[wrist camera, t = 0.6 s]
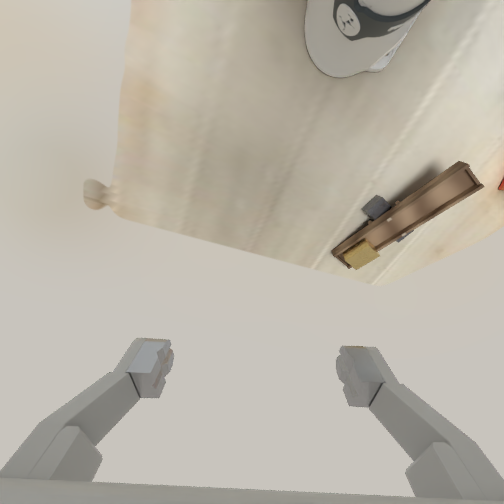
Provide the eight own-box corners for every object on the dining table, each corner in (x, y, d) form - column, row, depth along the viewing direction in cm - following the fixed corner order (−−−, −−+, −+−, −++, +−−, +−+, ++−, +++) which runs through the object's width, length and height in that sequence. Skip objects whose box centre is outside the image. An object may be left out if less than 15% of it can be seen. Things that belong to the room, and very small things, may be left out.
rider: (363, 236, 46) (369, 245, 43) (374, 245, 47) (380, 255, 44) (341, 250, 49) (345, 260, 46) (352, 259, 50) (356, 270, 47)
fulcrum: (376, 195, 44) (382, 197, 42) (406, 226, 48) (413, 230, 45) (361, 208, 46) (367, 211, 44) (392, 238, 49) (398, 242, 47)
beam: (455, 159, 36) (468, 164, 34) (470, 180, 38) (484, 186, 35) (331, 248, 52) (333, 256, 49) (345, 260, 53) (348, 269, 51)
